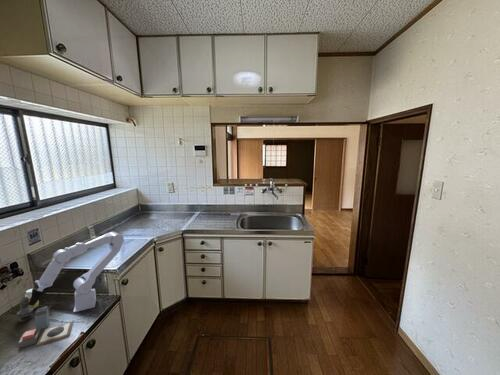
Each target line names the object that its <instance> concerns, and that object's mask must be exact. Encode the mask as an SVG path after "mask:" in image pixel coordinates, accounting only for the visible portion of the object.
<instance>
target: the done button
mask: <svg viewBox="0 0 500 375" xmlns="http://www.w3.org/2000/svg"><path fill="white" fill-rule="evenodd" d="M36 333H37V331H36V328H34V329H30V330H27V331H25V332H24V333H23V334H24V335H23V334H22V335H23V337H22V336H21V337H22V338H23V340H26V339H30V338H33V337H35V335H36Z"/></svg>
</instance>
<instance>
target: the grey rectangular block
mask: <svg viewBox="0 0 500 375" xmlns="http://www.w3.org/2000/svg"><path fill="white" fill-rule="evenodd" d="M34 324H35V325H34V326H35V329H36V330H39V329H40V331H41V330H43V329H47V328H49V327H48V326H49V325H50V315H49V308H48V305H45V306H43V307H39V308H37V309H36V311H35V315H34Z"/></svg>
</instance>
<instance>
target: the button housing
mask: <svg viewBox="0 0 500 375" xmlns="http://www.w3.org/2000/svg"><path fill="white" fill-rule="evenodd" d="M36 331H37V333H36V335H35V337H33V338H30V339H26V340H23V338H22V337H23V335H24V333H22V335H21V337H20V339H19V341H18V349H21V348H23V347H27V346H30V345H34V344H35V345H36V344H37V342H38V340H39V338H40V335H41V330H40V329H39V330H36Z"/></svg>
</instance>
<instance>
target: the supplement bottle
mask: <svg viewBox="0 0 500 375" xmlns="http://www.w3.org/2000/svg"><path fill="white" fill-rule="evenodd" d="M32 289H33V288H30V289H27V290H26V291H25V295H24V296H25V297H28V300H29V301H30V299H31V296H32ZM39 300H40V299H39ZM39 300H38V301H37V302H36V304H35V305H34V306H33V305H29V307H30V308H33V309H35V308H37V307H38V306H39V304H40V301H39Z"/></svg>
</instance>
